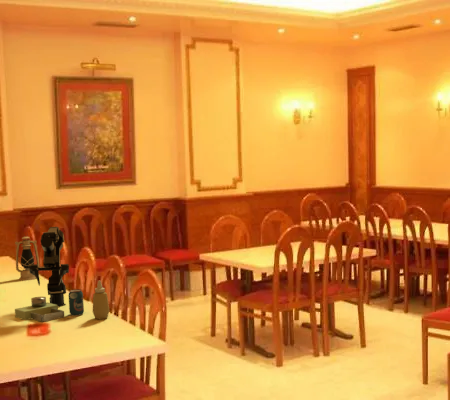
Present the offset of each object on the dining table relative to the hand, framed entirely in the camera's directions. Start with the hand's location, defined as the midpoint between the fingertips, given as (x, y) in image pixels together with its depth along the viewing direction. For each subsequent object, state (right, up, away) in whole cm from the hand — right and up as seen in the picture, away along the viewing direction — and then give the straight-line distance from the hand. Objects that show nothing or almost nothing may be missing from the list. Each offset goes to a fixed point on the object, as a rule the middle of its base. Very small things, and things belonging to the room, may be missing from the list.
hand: (49, 285), depth 351 cm
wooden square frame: (-1, -16, 0) cm, 16 cm away
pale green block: (-8, -16, +7) cm, 19 cm away
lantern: (-41, -10, +116) cm, 123 cm away
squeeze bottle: (+26, -15, -6) cm, 31 cm away
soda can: (+13, -15, +5) cm, 20 cm away
